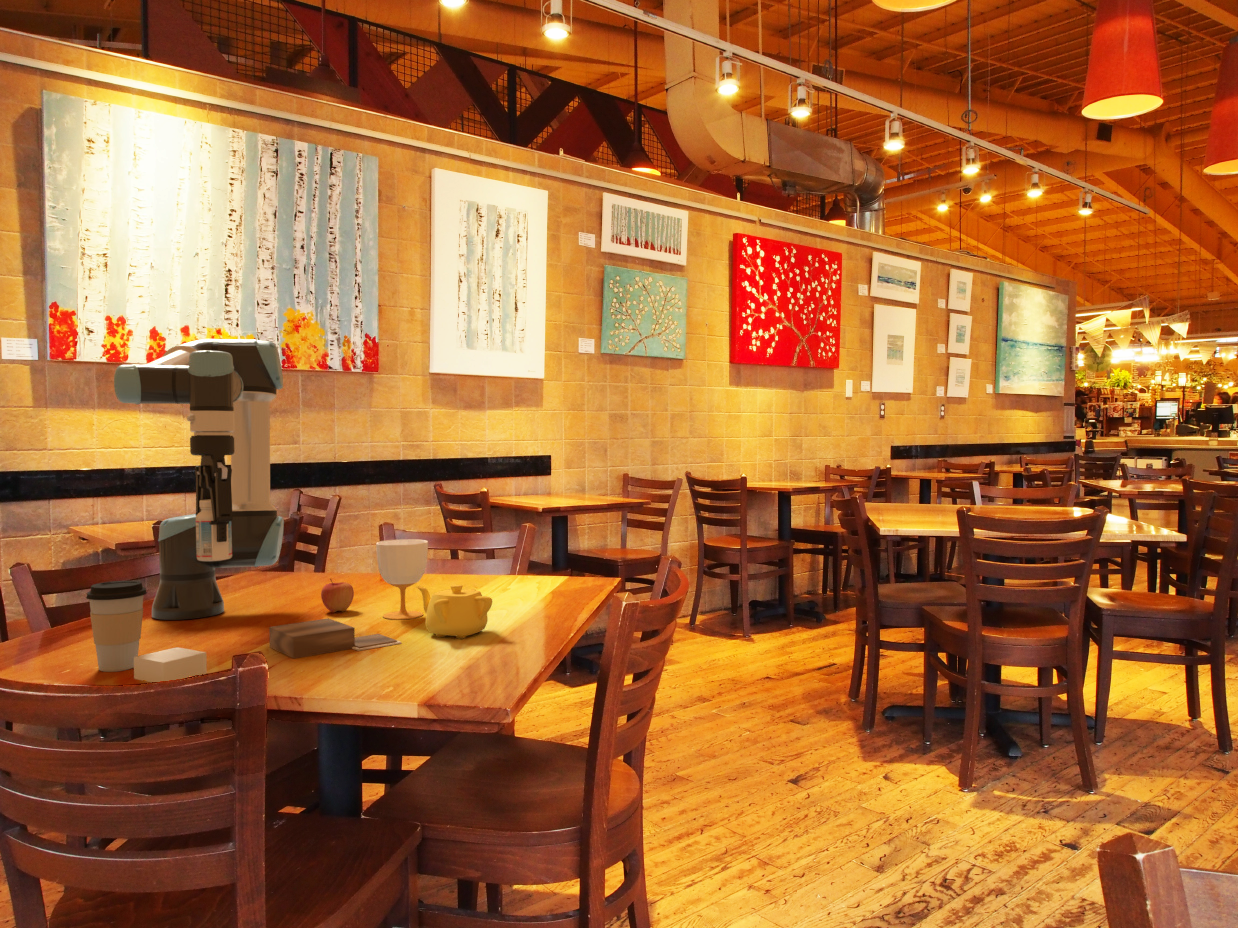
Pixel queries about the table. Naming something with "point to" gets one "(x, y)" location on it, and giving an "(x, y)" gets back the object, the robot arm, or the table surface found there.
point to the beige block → (170, 665)
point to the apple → (337, 596)
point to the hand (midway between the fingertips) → (214, 557)
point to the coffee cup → (116, 622)
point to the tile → (373, 642)
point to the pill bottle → (207, 532)
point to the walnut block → (311, 637)
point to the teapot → (455, 611)
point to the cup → (402, 568)
